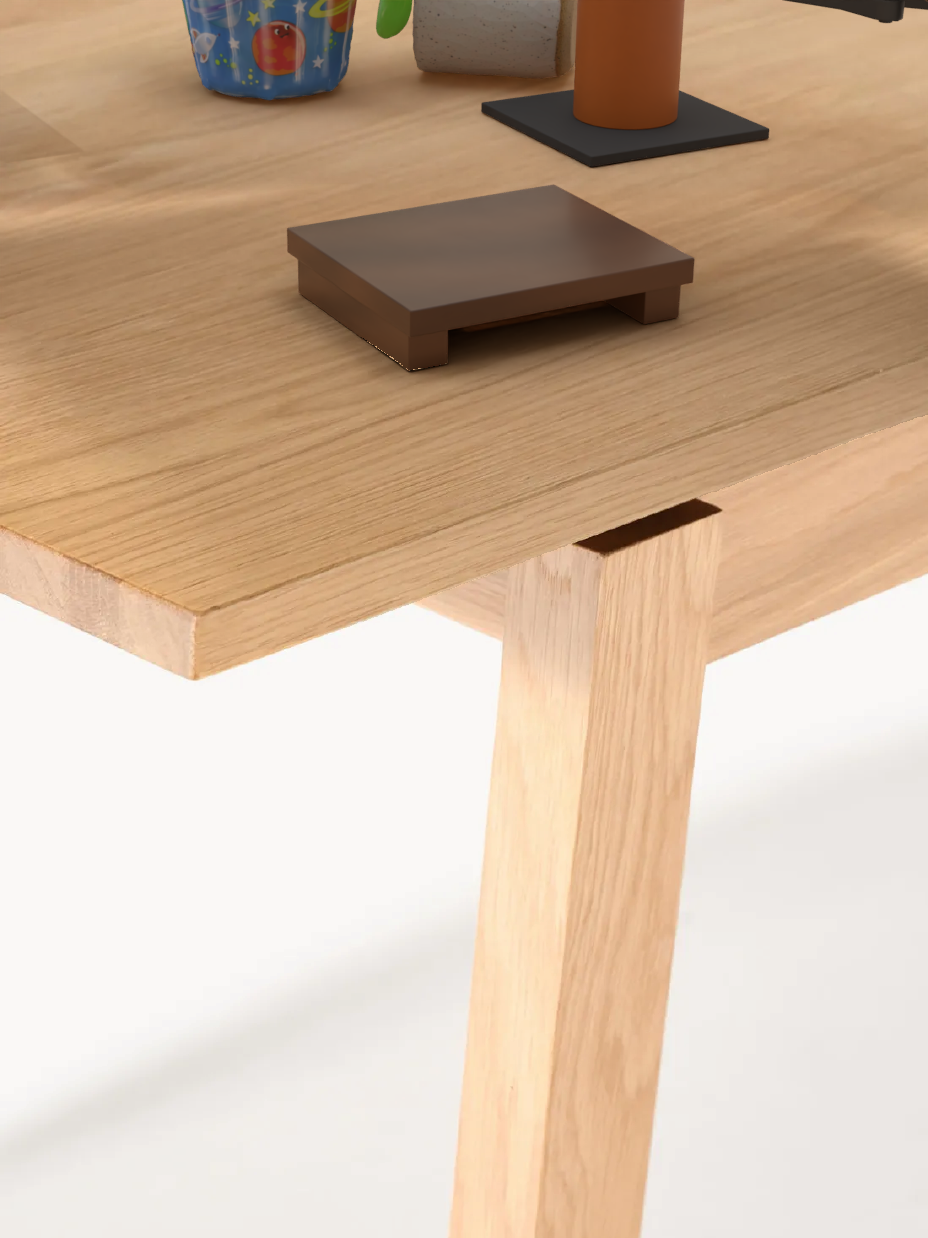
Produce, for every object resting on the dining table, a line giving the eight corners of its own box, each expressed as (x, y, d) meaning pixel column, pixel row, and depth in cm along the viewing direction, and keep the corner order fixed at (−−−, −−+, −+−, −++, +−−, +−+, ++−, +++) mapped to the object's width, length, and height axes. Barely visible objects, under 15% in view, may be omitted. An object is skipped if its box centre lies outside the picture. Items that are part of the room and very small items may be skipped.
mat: (480, 112, 106) (481, 102, 106) (651, 87, 111) (651, 77, 110) (590, 167, 99) (591, 156, 98) (769, 138, 103) (770, 128, 103)
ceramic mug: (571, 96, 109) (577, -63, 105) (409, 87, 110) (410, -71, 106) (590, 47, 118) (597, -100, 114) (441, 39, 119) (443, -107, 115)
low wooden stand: (287, 289, 84) (286, 227, 83) (551, 242, 89) (553, 183, 88) (410, 378, 77) (410, 311, 75) (691, 321, 82) (695, 257, 81)
